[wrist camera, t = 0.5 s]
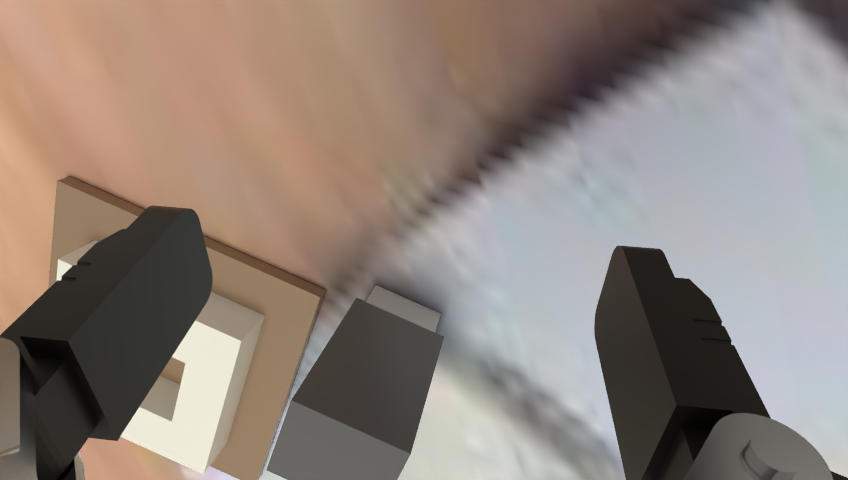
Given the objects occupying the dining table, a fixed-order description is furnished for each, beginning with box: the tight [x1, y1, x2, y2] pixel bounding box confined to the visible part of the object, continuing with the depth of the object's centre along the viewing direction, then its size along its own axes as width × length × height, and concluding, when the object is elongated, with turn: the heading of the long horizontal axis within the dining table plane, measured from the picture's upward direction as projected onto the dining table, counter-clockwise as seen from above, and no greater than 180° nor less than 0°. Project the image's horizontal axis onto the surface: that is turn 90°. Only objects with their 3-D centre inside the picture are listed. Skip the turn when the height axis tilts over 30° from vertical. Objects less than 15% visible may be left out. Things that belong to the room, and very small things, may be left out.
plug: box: [267, 285, 444, 480], centre depth 28 cm, size 4×5×12 cm
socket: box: [48, 177, 326, 480], centre depth 36 cm, size 18×18×4 cm
